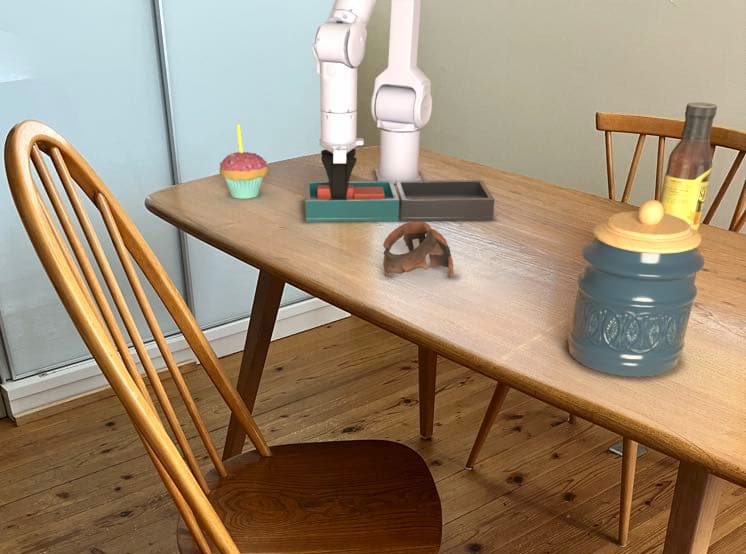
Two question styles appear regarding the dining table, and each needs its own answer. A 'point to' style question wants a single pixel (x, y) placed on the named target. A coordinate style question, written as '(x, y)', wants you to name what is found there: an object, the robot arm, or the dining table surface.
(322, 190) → the brush
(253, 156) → the cupcake
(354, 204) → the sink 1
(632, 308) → the canister
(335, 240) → the dining table surface
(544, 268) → the dining table surface
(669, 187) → the sauce bottle
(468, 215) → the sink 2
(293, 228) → the dining table surface
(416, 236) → the brown openwork arch
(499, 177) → the dining table surface
